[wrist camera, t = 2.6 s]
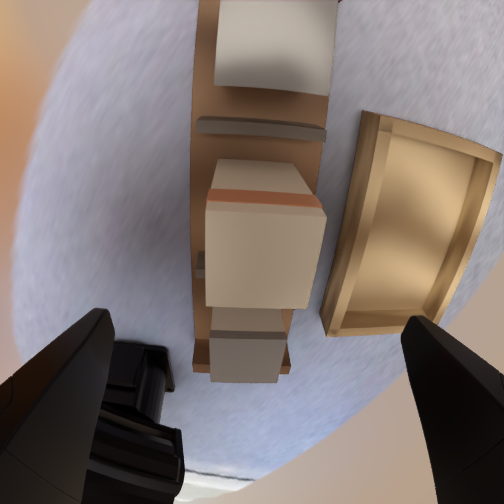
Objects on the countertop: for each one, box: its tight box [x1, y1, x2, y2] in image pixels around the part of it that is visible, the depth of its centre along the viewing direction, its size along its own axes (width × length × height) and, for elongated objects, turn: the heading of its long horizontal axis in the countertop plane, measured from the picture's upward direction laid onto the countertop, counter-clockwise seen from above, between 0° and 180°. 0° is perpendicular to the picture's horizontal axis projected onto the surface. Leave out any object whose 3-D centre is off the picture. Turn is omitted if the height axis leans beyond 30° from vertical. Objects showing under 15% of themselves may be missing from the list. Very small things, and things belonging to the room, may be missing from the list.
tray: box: [319, 110, 503, 337], centre depth 19 cm, size 15×10×2 cm, turn 176°
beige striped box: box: [205, 159, 327, 309], centre depth 14 cm, size 4×4×7 cm
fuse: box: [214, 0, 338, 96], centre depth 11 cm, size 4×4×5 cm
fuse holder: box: [190, 0, 342, 374], centre depth 16 cm, size 25×7×4 cm, turn 176°
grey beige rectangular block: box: [209, 307, 287, 383], centre depth 19 cm, size 4×4×5 cm
